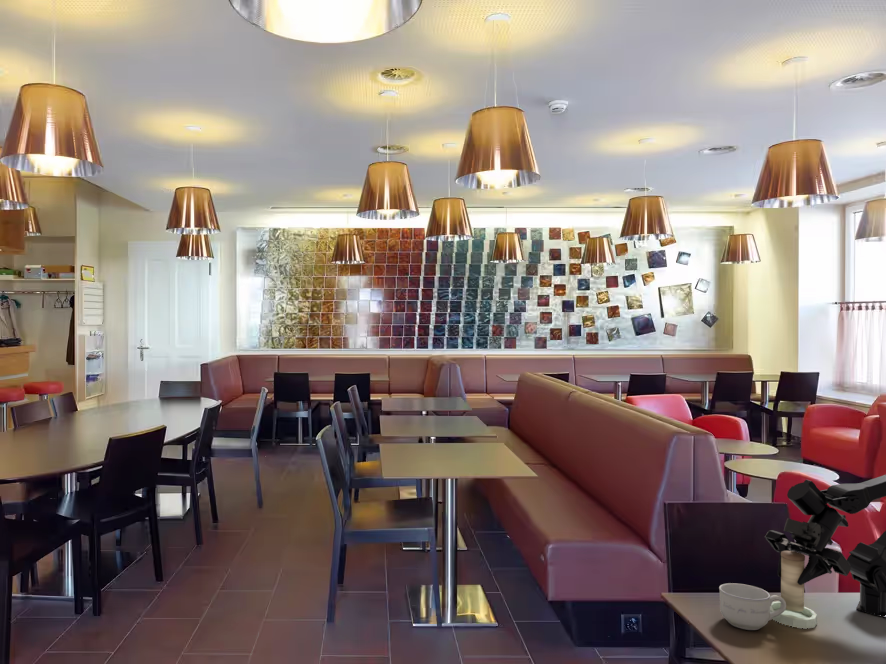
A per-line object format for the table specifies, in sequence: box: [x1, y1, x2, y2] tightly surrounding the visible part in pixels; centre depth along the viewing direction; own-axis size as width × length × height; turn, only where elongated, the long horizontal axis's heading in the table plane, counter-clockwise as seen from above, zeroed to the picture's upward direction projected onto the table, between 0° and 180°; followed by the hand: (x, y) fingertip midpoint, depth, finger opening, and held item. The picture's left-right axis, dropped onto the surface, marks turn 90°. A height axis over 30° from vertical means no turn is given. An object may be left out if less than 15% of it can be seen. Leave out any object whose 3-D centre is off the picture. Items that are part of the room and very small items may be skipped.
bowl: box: [770, 600, 818, 630], centre depth 147 cm, size 10×10×2 cm
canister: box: [780, 551, 806, 611], centre depth 147 cm, size 5×5×12 cm
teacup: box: [718, 582, 786, 631], centre depth 142 cm, size 14×11×8 cm
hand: (788, 579), depth 146 cm, fingers closed on canister, 5 cm apart
